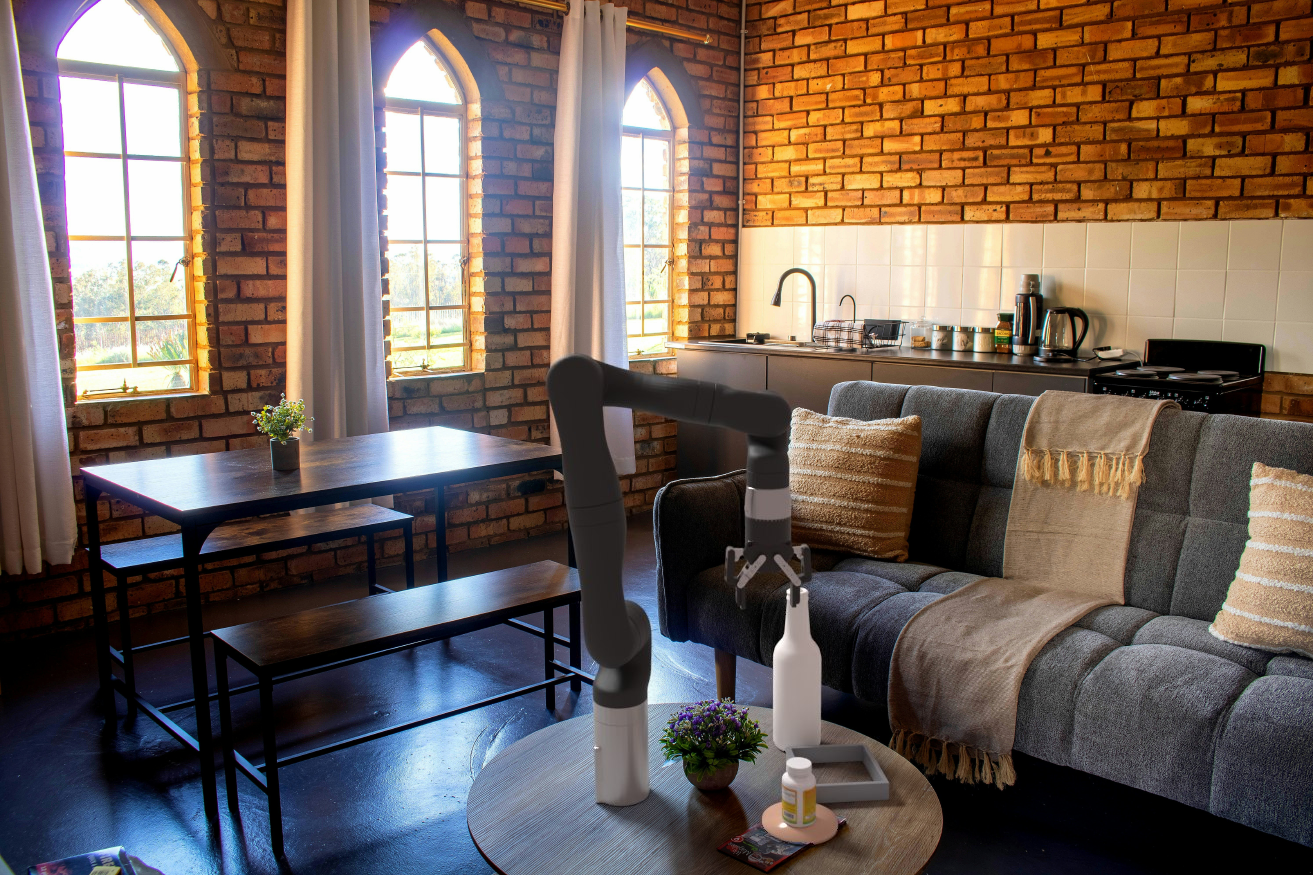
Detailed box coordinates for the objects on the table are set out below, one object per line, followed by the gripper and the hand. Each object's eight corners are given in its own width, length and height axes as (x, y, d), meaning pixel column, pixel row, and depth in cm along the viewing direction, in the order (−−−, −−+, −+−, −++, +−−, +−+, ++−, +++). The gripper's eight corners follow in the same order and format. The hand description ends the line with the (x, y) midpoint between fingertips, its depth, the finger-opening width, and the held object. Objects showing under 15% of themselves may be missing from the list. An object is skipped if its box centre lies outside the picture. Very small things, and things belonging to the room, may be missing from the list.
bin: (802, 803, 167) (802, 786, 167) (785, 762, 182) (785, 746, 181) (888, 799, 168) (889, 782, 168) (865, 758, 183) (865, 742, 182)
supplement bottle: (814, 811, 164) (815, 754, 162) (816, 829, 158) (817, 771, 157) (781, 810, 164) (781, 754, 162) (782, 828, 159) (782, 770, 157)
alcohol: (794, 759, 183) (795, 600, 178) (763, 741, 190) (763, 588, 185) (830, 746, 187) (832, 591, 183) (798, 729, 195) (799, 579, 190)
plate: (769, 846, 155) (769, 842, 155) (756, 806, 167) (756, 801, 167) (846, 843, 156) (846, 838, 156) (828, 803, 167) (828, 798, 167)
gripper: (727, 519, 162) (728, 616, 164) (815, 516, 162) (815, 612, 165) (722, 508, 169) (722, 601, 172) (806, 505, 170) (805, 598, 172)
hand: (767, 607), depth 168 cm, fingers open, 8 cm apart
